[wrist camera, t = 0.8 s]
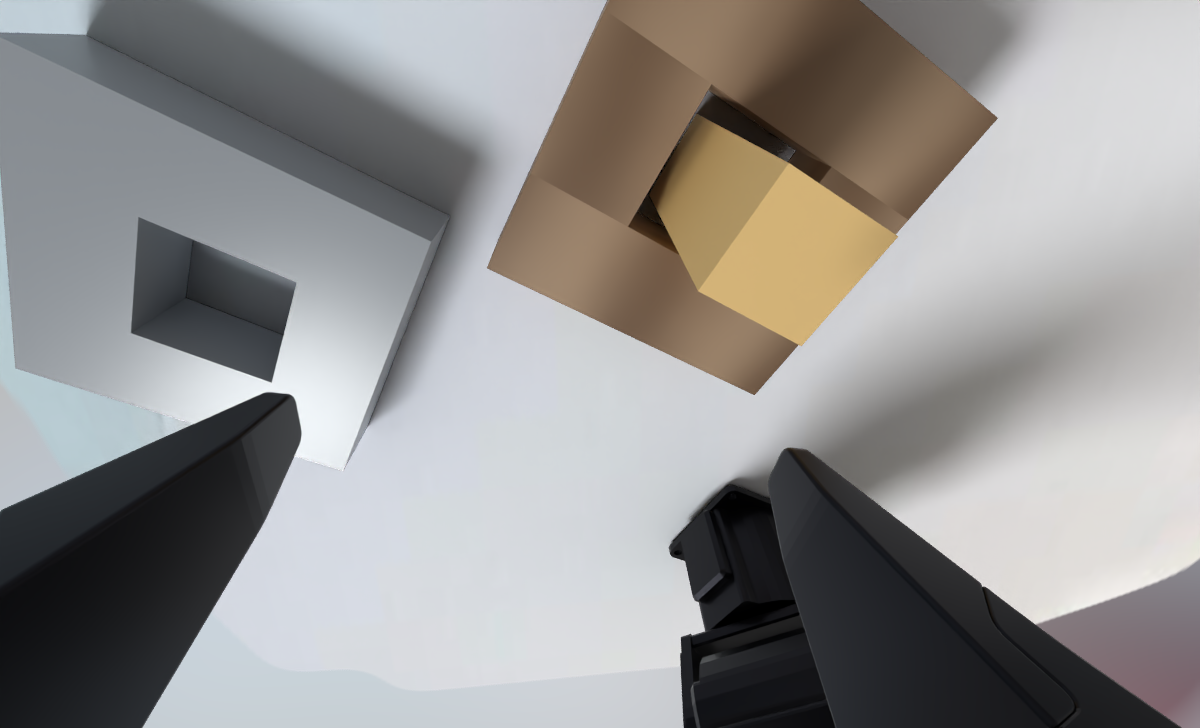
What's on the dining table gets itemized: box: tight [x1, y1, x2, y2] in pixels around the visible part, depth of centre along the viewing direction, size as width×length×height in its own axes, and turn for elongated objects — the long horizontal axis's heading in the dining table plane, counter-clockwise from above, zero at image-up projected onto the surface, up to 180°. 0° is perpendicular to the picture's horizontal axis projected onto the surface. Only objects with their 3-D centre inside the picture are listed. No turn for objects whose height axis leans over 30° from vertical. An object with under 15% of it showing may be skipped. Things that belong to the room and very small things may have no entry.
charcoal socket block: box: [0, 33, 450, 471], centre depth 19 cm, size 12×12×3 cm
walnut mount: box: [487, 0, 997, 395], centre depth 17 cm, size 12×12×3 cm
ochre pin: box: [649, 114, 898, 346], centre depth 15 cm, size 3×3×9 cm
